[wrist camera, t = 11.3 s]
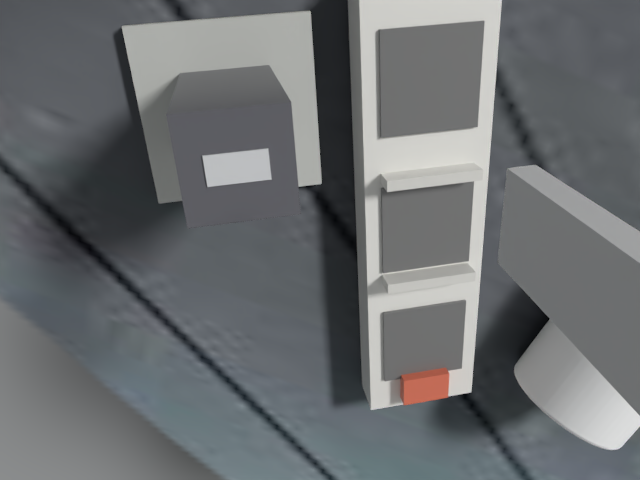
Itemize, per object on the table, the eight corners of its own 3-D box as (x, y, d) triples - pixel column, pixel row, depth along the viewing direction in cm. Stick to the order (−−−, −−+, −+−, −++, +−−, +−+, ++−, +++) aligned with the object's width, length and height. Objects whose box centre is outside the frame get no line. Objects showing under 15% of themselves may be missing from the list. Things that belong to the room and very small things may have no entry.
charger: (180, 73, 27) (165, 114, 19) (268, 64, 28) (291, 102, 20) (194, 158, 29) (187, 229, 21) (277, 149, 30) (301, 214, 22)
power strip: (338, -249, 23) (358, -285, 20) (494, -252, 24) (538, -288, 21) (362, 385, 39) (375, 423, 35) (456, 368, 39) (479, 404, 36)
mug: (493, 352, 40) (554, 434, 32) (577, 236, 36) (665, 300, 29) (609, 395, 44) (685, 477, 37) (693, 295, 40) (795, 363, 33)
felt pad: (123, 25, 26) (121, 26, 26) (308, 10, 27) (310, 11, 27) (159, 199, 30) (158, 203, 30) (320, 180, 31) (321, 183, 31)
